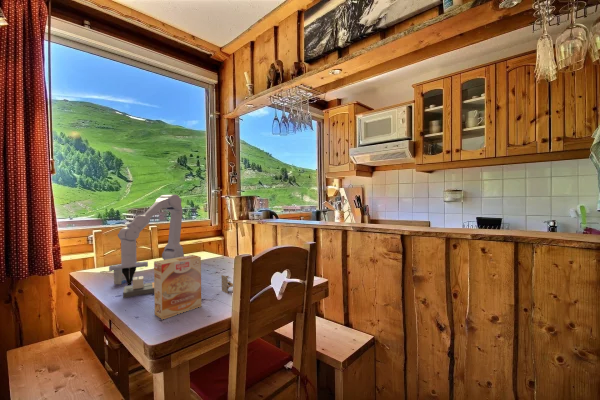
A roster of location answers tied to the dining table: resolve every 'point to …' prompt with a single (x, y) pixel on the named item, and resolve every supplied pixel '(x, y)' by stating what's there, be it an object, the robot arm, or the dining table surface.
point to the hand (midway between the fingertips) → (129, 284)
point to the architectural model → (226, 284)
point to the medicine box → (120, 277)
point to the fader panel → (138, 290)
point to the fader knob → (137, 282)
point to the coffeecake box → (177, 285)
